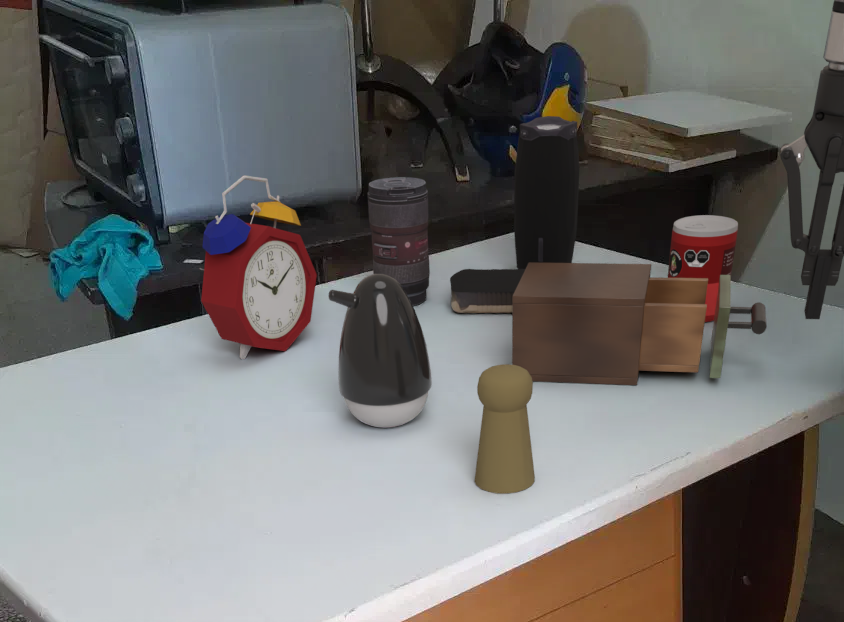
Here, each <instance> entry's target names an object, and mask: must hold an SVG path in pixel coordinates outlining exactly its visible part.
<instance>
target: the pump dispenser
mask: <svg viewBox="0 0 844 622" xmlns="http://www.w3.org/2000/svg"><path fill="white" fill-rule="evenodd" d="M327 295H328V300H329V301H331V302H334V303H335V304H339V305H340V306H341V305H342V306H344V307H347V308H346V309H347V310H346V312H345V314H344V315H345V316H344V319H343V324H342V327H341V328H342V329H341V335H340V340H339V341H340V342H339V347H338V348H339V349H338V365H337V366H338V369H337V373H338V374H337V375H338V376H337V379H338V389H339V390H338V391H339V394H340V395H341V396H342V398H343V399H344V402H345V404H346V407H347V408H348V410H349V412H350V413H351V414H352V415H353V416H354V417H355V418H356V419H357V420H358V421H360V422H361V423H364V424H366V425H368V426H371V427H374V428H384V429H385V428H386V429H387V428H395V427H399V426H402V425H405V424H407V423H410V422H411V421H412V420H414V419H415V418H417V417H418V415H419V414H420V413H421V412H422V410H423V409H424V407H425V406H426V403H427V401H428V400H427V399H428V397H429V392H430V390H431V388H432V386H433V385H432V384H433V380H432V379H433V377H432V368H431V362H430V356H429V351H428V346H427V342H426V338H425V335H424V331H423V329H422V325H421V322H420V320H419V317H418V315H417V312H416V310H415V308H414V306H412V303H411V301H410V299H409V297H408V295H407V294H406V292H405V290H404V289H403V287H402V286H401V285H400V283H399V282H398V281H397V280H396V279H394V278H393V277H391V276H389V275H386V274H369V275H367V276H366V277H364V278H363V279H361V280H360V281H359V282H358V284H357V286H356V287H355V289H354V291H353V293H352V292H346V291H343V290H337V289H330V290H329V292H328V294H327Z"/></svg>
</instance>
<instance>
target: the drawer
mask: <svg viewBox="0 0 844 622" xmlns="http://www.w3.org/2000/svg"><path fill="white" fill-rule="evenodd" d="M731 278H732V275H731V276H730V275H720V279H719V286H718V293H717V301H716V308H715V316H714V321H713V324H712V331H711V338H710V353H709V354H710V355H709V357H710V358H709V379H721V376H722V370H723V362H724V355H725V349H726V340H727V335H728V329H736V330H737V329H738V330H751V331H752V333H753V334H755V335H762V334H763V333H765V332H766V330H767V313H766V312H767V311H766V305H765V304H764V303H763V302H761V301H760V302H759V301H758V302H755V303H753V304H752V306H731V305H732V304H731V302H732V301H731V299H732V298H731V295H732V293H731V291H732V290H731V288H732V286H731V285H732V283H731V280H732V279H731ZM707 285H708V278H668V277H655V276H653V277H651V276H650V277H649V283H648V288H647V293H646V299H645V304H644V316H643V327H642V338H641V349H640V360H639V372H640V371H643V372H674V373H699V370H700V369H699V368H700V361H701V354H702V346H703V339H704V330H705V323H706V322H705V316H706V309H707V304H705V301H706V293H707ZM733 314H735V315H750V321H729V320H730V315H733Z"/></svg>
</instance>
